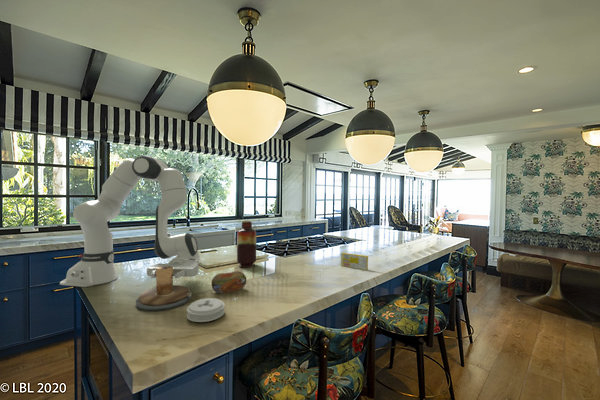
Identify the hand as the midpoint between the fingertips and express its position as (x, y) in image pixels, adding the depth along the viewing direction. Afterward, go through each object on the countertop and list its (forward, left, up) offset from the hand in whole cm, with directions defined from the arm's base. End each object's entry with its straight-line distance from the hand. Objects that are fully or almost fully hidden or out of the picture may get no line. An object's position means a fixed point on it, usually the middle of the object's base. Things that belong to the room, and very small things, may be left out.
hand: (164, 275), depth 111 cm
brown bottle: (+23, +52, -10) cm, 58 cm away
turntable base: (0, 0, -10) cm, 10 cm away
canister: (0, 0, -7) cm, 7 cm away
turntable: (+1, 0, -8) cm, 8 cm away
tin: (+23, +11, -10) cm, 28 cm away
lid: (+21, -13, -10) cm, 27 cm away
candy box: (+86, +49, -10) cm, 100 cm away
